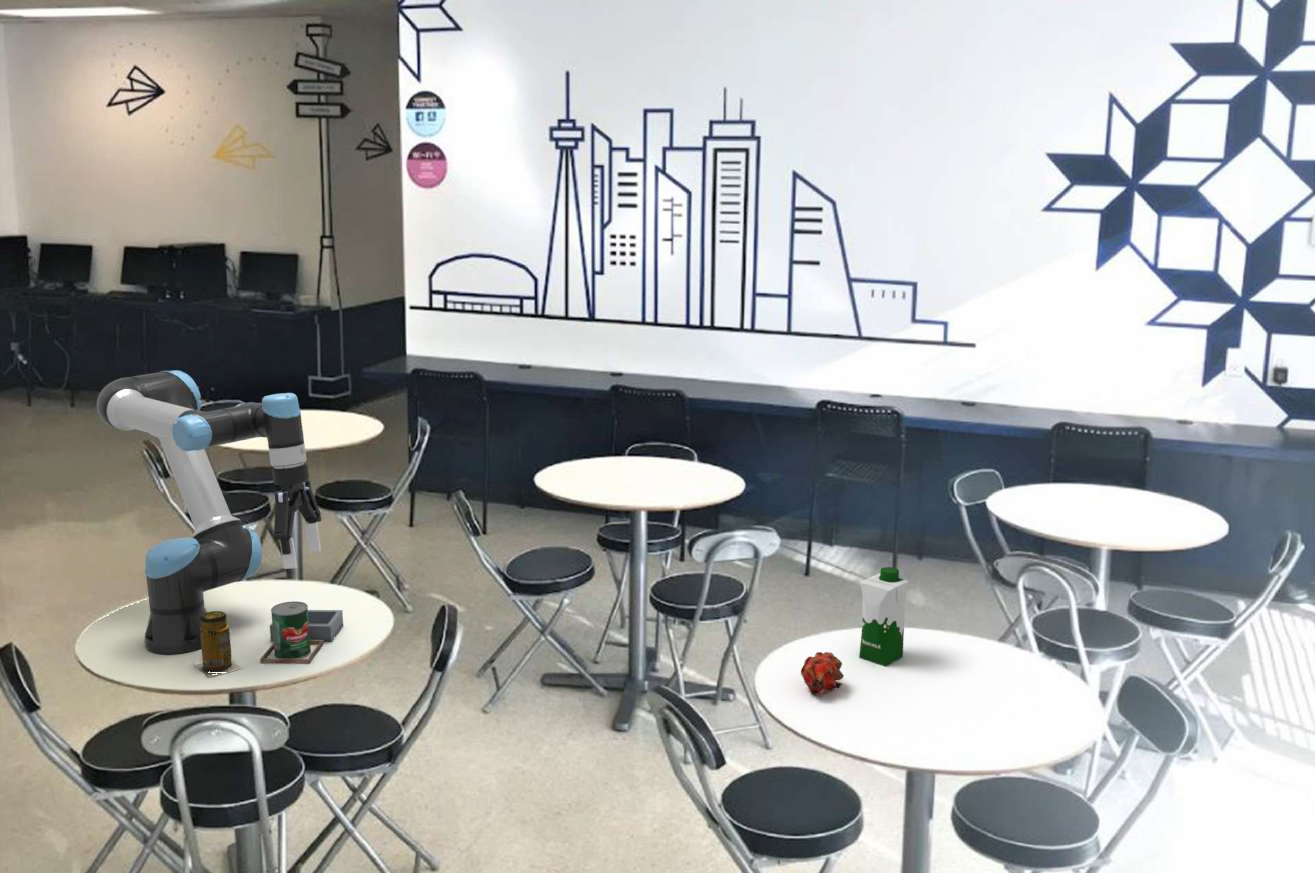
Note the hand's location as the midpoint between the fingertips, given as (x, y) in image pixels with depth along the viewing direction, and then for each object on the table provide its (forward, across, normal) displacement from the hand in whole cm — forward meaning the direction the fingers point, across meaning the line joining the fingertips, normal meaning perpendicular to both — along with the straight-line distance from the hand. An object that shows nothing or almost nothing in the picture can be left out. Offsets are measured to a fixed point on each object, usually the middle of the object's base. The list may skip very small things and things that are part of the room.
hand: (303, 559), depth 269 cm
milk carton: (+35, +14, -124) cm, 130 cm away
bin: (+21, +14, +8) cm, 26 cm away
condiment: (+22, -6, +20) cm, 30 cm away
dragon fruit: (+34, -4, -111) cm, 116 cm away
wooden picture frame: (+22, +3, +7) cm, 23 cm away
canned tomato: (+22, +3, +7) cm, 24 cm away
